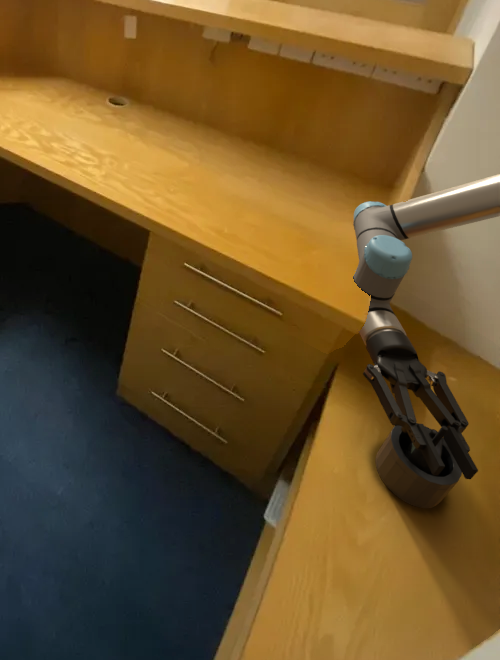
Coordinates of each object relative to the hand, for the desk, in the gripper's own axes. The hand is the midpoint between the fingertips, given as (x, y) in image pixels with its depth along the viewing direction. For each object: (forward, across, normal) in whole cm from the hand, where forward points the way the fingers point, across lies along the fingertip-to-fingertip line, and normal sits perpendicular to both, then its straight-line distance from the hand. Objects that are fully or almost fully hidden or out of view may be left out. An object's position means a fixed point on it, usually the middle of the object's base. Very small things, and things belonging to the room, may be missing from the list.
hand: (455, 472), depth 78 cm
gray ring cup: (-5, 0, -12) cm, 14 cm away
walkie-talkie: (-5, 0, -11) cm, 12 cm away
